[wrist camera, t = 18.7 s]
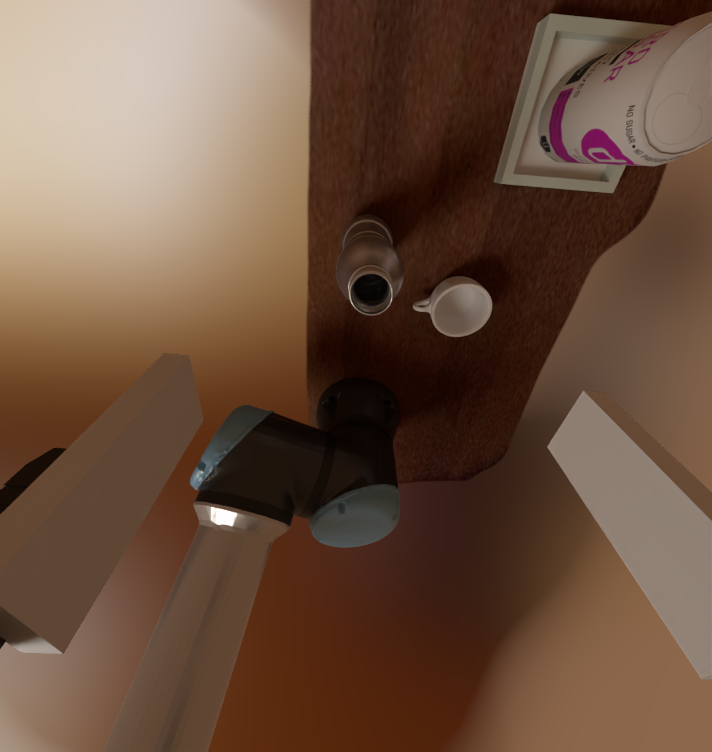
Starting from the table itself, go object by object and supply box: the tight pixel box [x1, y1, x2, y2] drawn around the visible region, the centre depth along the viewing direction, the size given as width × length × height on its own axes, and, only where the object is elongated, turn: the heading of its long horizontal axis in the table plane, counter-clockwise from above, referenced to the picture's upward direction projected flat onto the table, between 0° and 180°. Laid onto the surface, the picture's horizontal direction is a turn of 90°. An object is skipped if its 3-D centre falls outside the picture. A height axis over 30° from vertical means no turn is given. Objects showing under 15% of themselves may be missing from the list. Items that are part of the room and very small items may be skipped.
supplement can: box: [538, 12, 712, 166], centre depth 27 cm, size 8×8×15 cm
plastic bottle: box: [336, 214, 404, 316], centre depth 33 cm, size 6×7×20 cm
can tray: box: [494, 14, 671, 193], centre depth 33 cm, size 13×13×2 cm
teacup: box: [413, 276, 492, 337], centre depth 44 cm, size 10×8×5 cm
